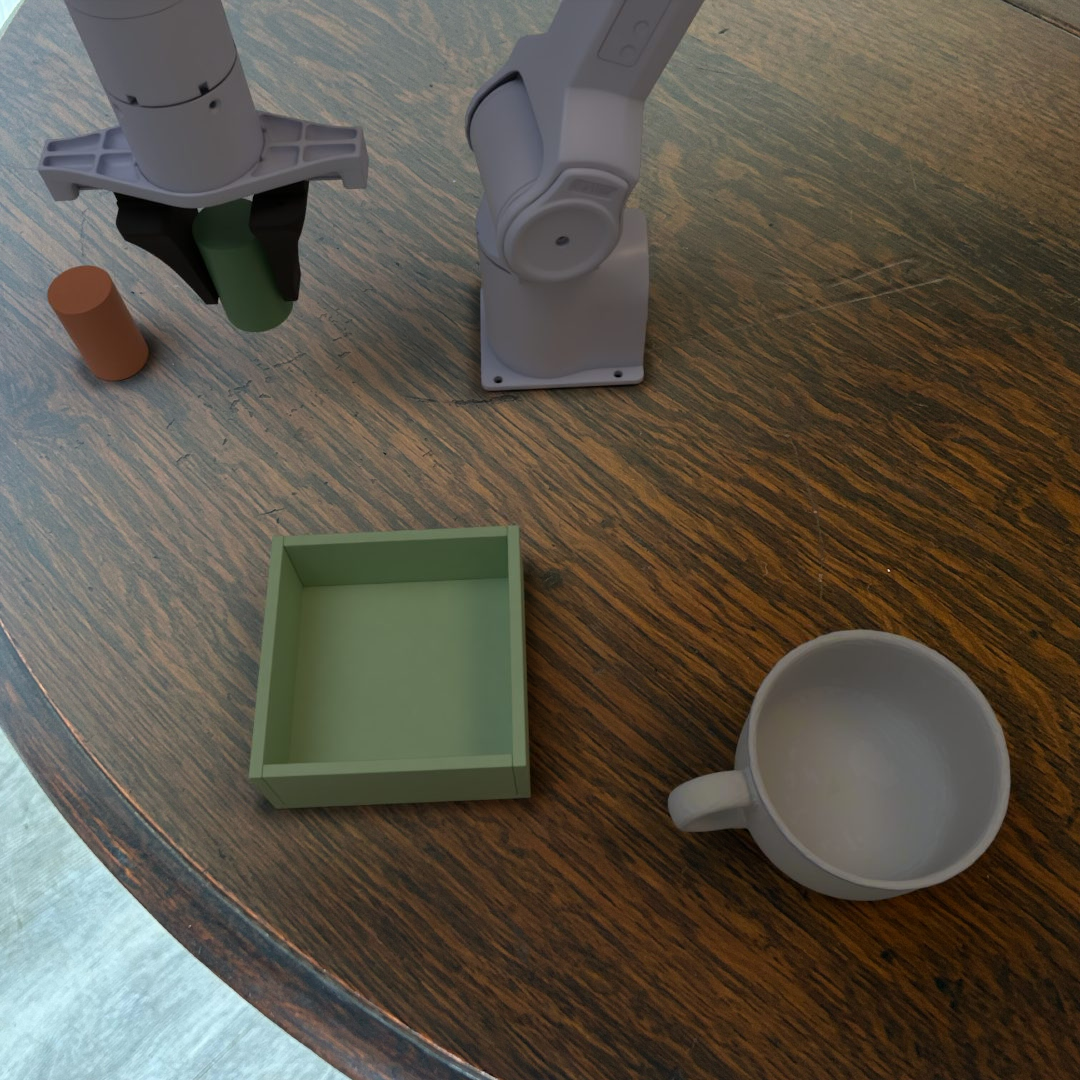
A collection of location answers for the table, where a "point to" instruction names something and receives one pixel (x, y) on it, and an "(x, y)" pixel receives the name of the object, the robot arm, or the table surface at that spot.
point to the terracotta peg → (98, 322)
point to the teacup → (861, 769)
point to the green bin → (393, 669)
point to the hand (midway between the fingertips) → (254, 288)
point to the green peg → (239, 267)
